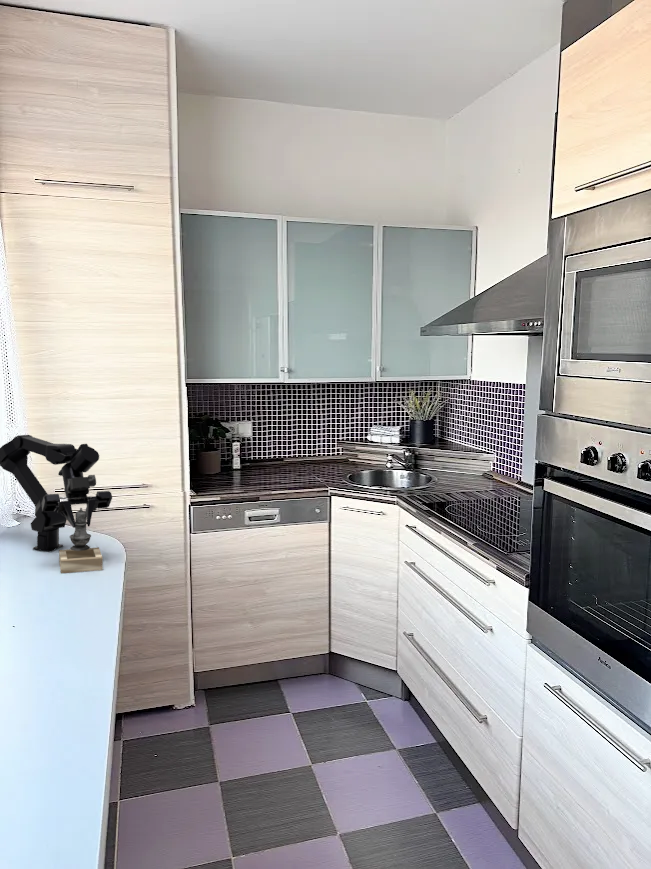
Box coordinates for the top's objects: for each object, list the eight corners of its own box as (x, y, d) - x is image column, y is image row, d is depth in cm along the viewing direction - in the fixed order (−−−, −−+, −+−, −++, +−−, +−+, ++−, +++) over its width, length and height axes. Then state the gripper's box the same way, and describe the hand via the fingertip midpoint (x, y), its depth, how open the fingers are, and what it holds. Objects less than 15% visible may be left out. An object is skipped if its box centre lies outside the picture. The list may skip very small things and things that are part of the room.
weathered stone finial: (83, 552, 187) (84, 510, 185) (65, 549, 188) (65, 508, 186) (95, 546, 192) (95, 506, 191) (76, 544, 194) (77, 504, 192)
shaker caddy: (59, 561, 193) (59, 549, 193) (98, 558, 198) (98, 547, 197) (60, 573, 183) (61, 561, 183) (102, 570, 188) (102, 558, 187)
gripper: (44, 466, 186) (51, 514, 178) (111, 464, 196) (120, 509, 188) (38, 488, 193) (45, 534, 185) (103, 485, 203) (112, 528, 195)
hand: (81, 526), depth 188 cm, fingers closed on weathered stone finial, 4 cm apart
